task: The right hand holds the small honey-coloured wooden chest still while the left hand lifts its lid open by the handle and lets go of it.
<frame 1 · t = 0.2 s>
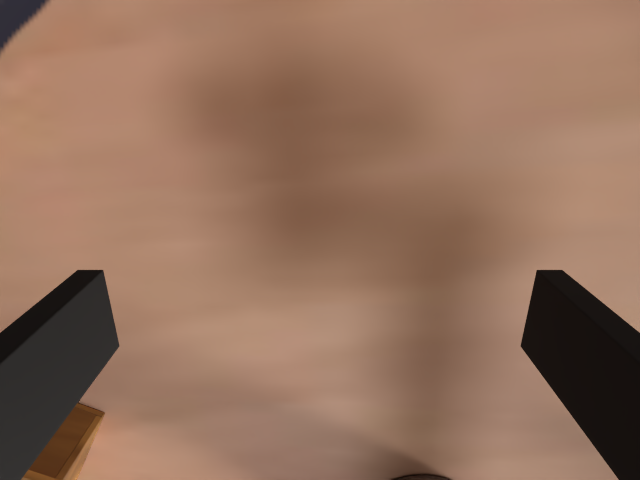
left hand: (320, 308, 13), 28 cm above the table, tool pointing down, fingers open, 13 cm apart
chest: (51, 436, 52), on the table
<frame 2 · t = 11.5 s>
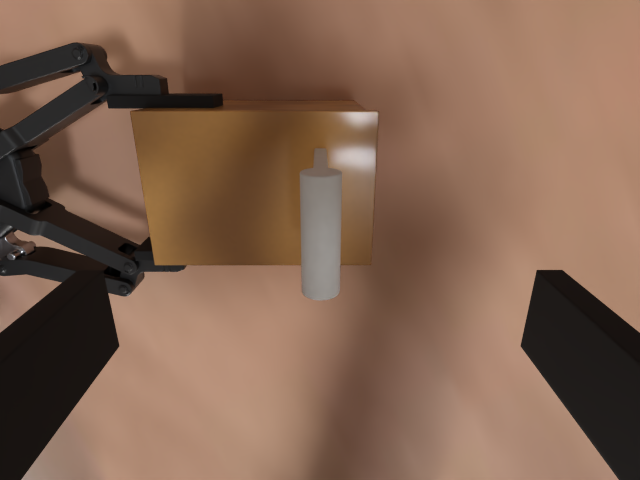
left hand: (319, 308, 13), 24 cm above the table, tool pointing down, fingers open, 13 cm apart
right hand: (224, 179, 29), fingers closed on chest, 10 cm apart
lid: (250, 211, 22), point 14 cm above the table, hinge at 0.0°
chest: (271, 160, 35), on the table, touching right hand
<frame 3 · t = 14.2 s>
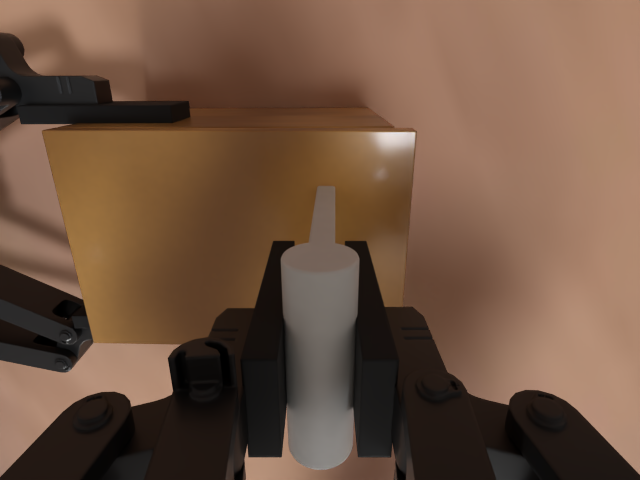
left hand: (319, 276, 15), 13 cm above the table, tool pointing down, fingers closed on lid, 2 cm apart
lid: (213, 290, 14), point 14 cm above the table, hinge at 2.3°, touching left hand
chest: (261, 185, 27), on the table, touching right hand
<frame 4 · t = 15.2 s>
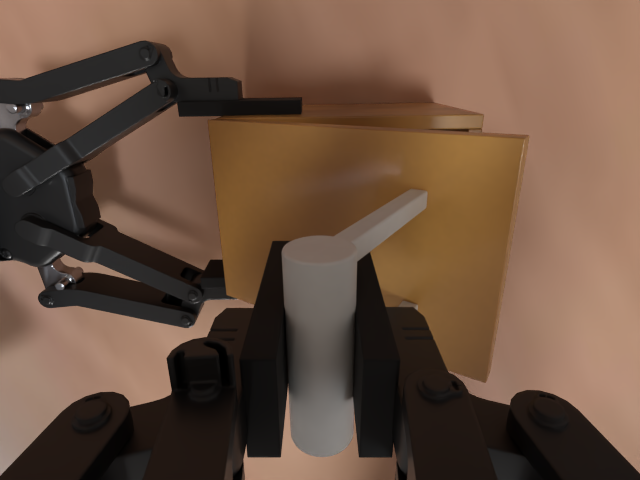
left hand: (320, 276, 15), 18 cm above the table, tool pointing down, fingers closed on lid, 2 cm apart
right hand: (303, 195, 25), fingers closed on chest, 10 cm apart
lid: (285, 269, 16), point 17 cm above the table, hinge at 32.7°, touching left hand
chest: (339, 171, 32), on the table, touching right hand
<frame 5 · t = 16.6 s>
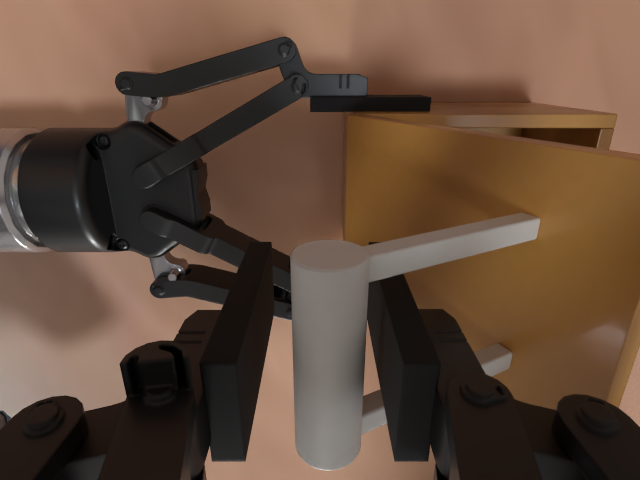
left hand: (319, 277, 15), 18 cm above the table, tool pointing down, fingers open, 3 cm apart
right hand: (416, 191, 26), fingers closed on chest, 10 cm apart
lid: (362, 272, 15), point 18 cm above the table, hinge at 61.9°
chest: (431, 168, 32), on the table, touching right hand
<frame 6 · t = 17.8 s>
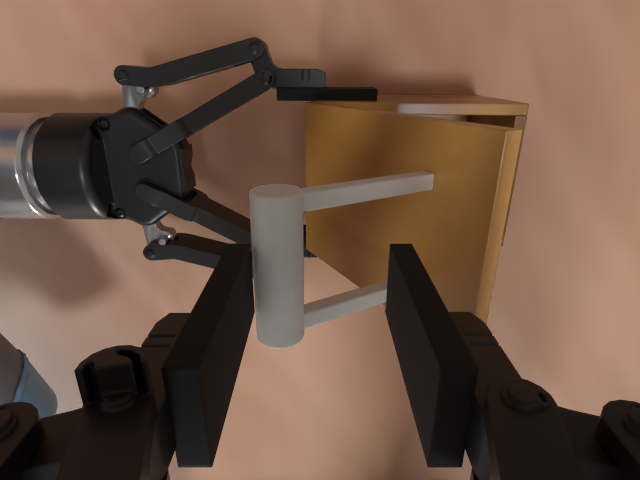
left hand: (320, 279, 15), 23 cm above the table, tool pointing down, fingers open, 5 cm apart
right hand: (370, 169, 30), fingers closed on chest, 10 cm apart
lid: (311, 221, 20), point 18 cm above the table, hinge at 59.3°, touching left hand
chest: (391, 152, 36), on the table, touching right hand
when the right hand's fingers open (7 cm above the table, at t = 20.5 s): chest stays where it is, on the table.
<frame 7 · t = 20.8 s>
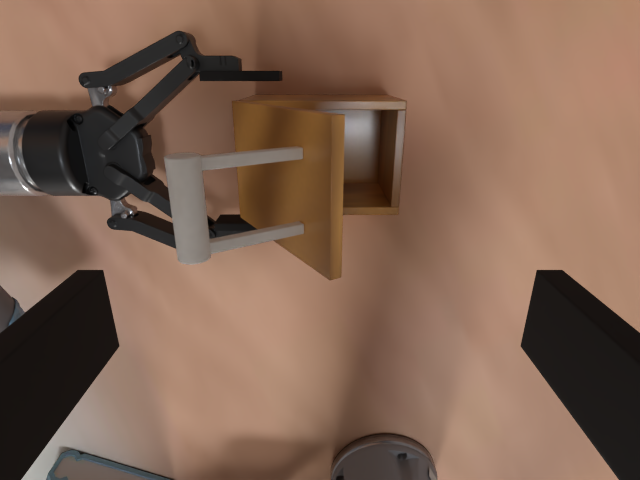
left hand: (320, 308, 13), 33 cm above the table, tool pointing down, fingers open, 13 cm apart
right hand: (283, 154, 38), fingers open, 12 cm apart
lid: (225, 185, 27), point 18 cm above the table, hinge at 57.8°
chest: (321, 143, 44), on the table
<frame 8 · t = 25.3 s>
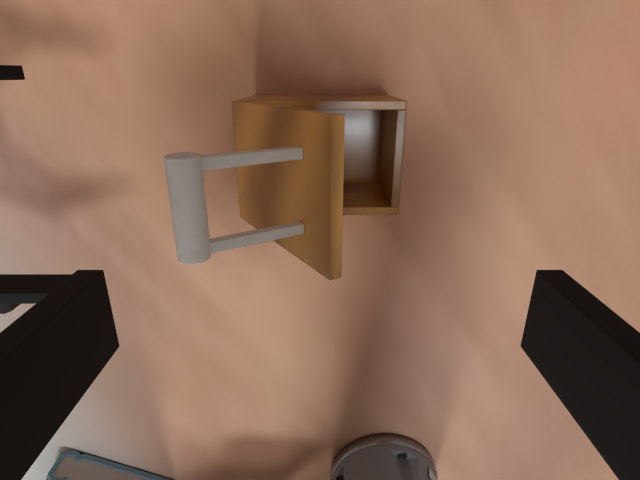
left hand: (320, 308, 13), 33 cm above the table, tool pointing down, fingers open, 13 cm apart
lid: (225, 185, 27), point 18 cm above the table, hinge at 57.8°
chest: (321, 143, 44), on the table
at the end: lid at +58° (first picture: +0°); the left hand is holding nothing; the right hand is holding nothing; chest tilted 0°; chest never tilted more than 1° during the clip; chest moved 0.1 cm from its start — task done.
